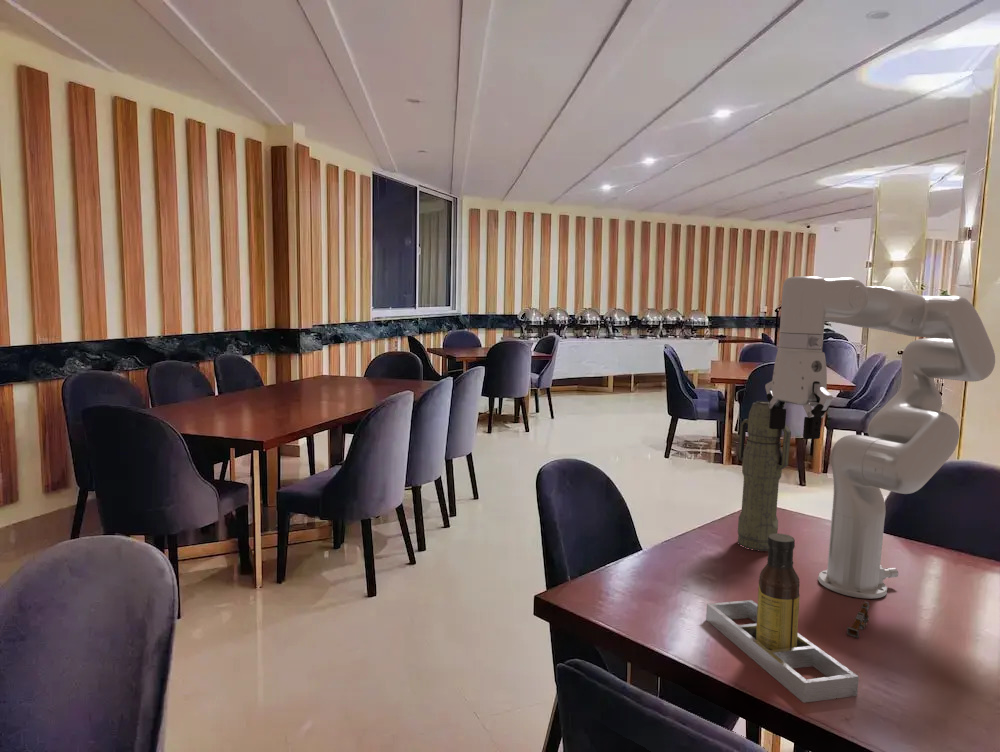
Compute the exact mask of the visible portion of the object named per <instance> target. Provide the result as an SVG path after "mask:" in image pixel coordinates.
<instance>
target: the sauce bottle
mask: <svg viewBox="0 0 1000 752" xmlns="http://www.w3.org/2000/svg"><path fill="white" fill-rule="evenodd" d="M795 541H796V539H795V537H793V536H792V535H789V534H786V533H778V532H777V533H774V534H770V535H769V536H768V541H767V542H768V546H769V548H768V552H767V555H768V556H767V558H766V559H767V562H766V565H765V566H764V567H763V568H762V569H761V571H760V572H759V577H758V586H757V588H758V589H757V604H758V606H757V627H756V640H757V641H759V642H760V643H761V644H762V645H764V646H765V647H766V648H767V649H769V650H776V649H785V648H794V647H797V635H798V633H799V631H798V630H799V612H800V596H801V595H800V582H801V581H800V578H799V575H798V573H797V572H796V570H795V568H794V549H795V548H796V545H795Z"/></svg>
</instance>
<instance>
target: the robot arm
mask: <svg viewBox="0 0 1000 752" xmlns="http://www.w3.org/2000/svg"><path fill="white" fill-rule="evenodd" d="M781 294H782V295H781V306H780V307H781V308H780V320H779V321H780V323H779V335H778V348H777V352H776V356H775V361H774V366H773V373H772V380H770V381H769V382H767V383H766V384H765V387H764V388H765V391H766V400H767V401H769V408H772V409H770V422H769V428H770V429H784V428H785V425H786V419H787V408H785V407H786V405H787V403H788V404H792V405H796V406H797V405H798V406H802V407H803V409H804V412H805V414H806V416H804V419H803V429H802V430H803V432H802V438H803V439H805V440H815V439H816V440H819V439H820V438H821V428H822V419H823V418H825V414H826V412H828V410H829V409H830V408H829V407H830V406H831V403H832V401H833V399H834V397H833V395H832V394H831V393H830V392H829V391H828V390H827V388H828V386H827V385H828V384H827V383H828V380H827V379H828V375H827V374H828V369H827V361H826V360H827V359H826V354H825V352H823V348H824V347H823V346H824V345H823V344H824V332H825V322H830V323H836V324H840V325H841V324H843V325H847V326H852V327H858V328H865V329H872V330H876V331H877V330H878V331H884V332H888V333H889V332H890V333H893V334H898V335H904V336H909V337H916V338H919V339H915V340H912V341H911V342H909V343H908V344H907V345H906V346H905V348H904V350H903V352H902V356H901V385H900V388H899V389H898V391H897V392H896V393H895V395H894V396H892V397H891V398H890V399H889V400H888V401H887V402H886V403H885V404H884V405H883V406H882V407H881V408H880V409H879V411H877V412H876V414H875V415H874V416H873V417H872V418H871V420H870V422H869V423H868V426H867V435H862V434H848V435H845V436H842V437H841V438H839V439H838V440H837V441H836V442H835V443H834V444H833V446H832V449H831V452H830V453H831V455H830V463H831V470H832V471H831V472H832V478H833V494H832V495H833V498H832V509H831V510H832V511H831V522H830V535H829V548H828V556H827V557H828V559H827V560H828V561H827V568H826V569H824V570H822V571H820V572H819V573H818V577H817V579H818V582H819V583H820V584H821V585H822V586H823V587H825V588H826V589H828V590H830V591H832V592H835V593H837V594H840V595H844V596H847V597H851V598H852V597H853V598H859V599H871V600H873V599H874V600H875V599H880V598H884V597H885V596H886V595H887V594H888V587H887V585H886V584H885V583H884V580H886V579H889V578H890V579H891V578H898V576H899V570H898V569H897V568H896V567H888V568H884V567H883V566H882V565H881V562H882V549H883V542H884V541H883V540H884V529H885V528H884V527H885V518H886V502H885V498H884V494H883V493H882V489H883V490H886V491H888V492H893V493H897V494H902V495H903V494H904V495H908V494H913V493H915V492H918V491H919V490H920V489H922V488H923V487H924V486H925V485H926V484H927V483H928V482H929V481H930V479H932V477H933V476H934V475H935V474H936V473H938V472H939V470H940V469H941V467H942V466H943V465H944V464H945V463H947V461H948V460H949V459H950V457H952V455H953V454H954V452H955V450H956V448H957V446H958V444H959V439H960V427H959V424H958V422H957V420H956V419H955V418H954V417H953V416H952V415H950V414H949V413H947V412H944V411H941V409H942V408H943V400H942V396H941V393H940V391H939V390H938V389H939V388H937V385H936V384H935V379H941V380H951V381H960V382H972V383H974V382H980V381H981V382H982V381H983V380H985V379H987V378H988V377H990V375H991V374H992V373H993V371H994V369H995V367H996V366H995V364H996V355H995V354H996V353H995V349H994V347H993V344H992V342H991V339H990V338H989V335H988V332H987V330H986V328H985V324H984V323H983V321H982V319H981V317H980V315H979V313H978V312H977V310H976V308H975V307H974V305H973V304H972V303H971V302H970V300H968V299H967V298H965V297H964V296H960V295H959V296H958V295H922V294H916V293H911V292H908V291H905V290H904V291H903V290H901V289H895V288H892V287H889V286H888V287H887V286H871V285H870V286H869V285H868V286H866V285H865V284H864V283H863V282H862V281H860V280H858V279H857V278H853V277H847V276H841V277H840V276H839V277H820V276H812V275H811V276H807V275H806V276H804V275H803V276H801V275H799V276H798V275H797V276H790V277H787V278H786V279H785V280H784V281H783V285H782V293H781ZM812 407H813V408H812Z"/></svg>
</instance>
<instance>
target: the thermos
mask: <svg viewBox="0 0 1000 752" xmlns="http://www.w3.org/2000/svg"><path fill="white" fill-rule="evenodd" d="M770 409H772V408H769V401H768V400H764V401H763V400H757V401H756V402H752V404H751V407H750V410H749V412H748V418H745V419H743V420H742V421H741V423H740V424H739V436H738V437H739V439H738V449H737V450H738V453H737V454H738V461H740V462H741V464H742V469H741V470H742V472H741V473H742V475H743V485H742V486H743V487H742V500H741V512H740V514H739V516H738V524H737V535H738V536H737V537H738V538H737V544H738V543H739V544H740V545H742V546H744V547H746V548H749V549H753V550H759V551H768V548H769V546H768V542H767V541H768V536H769V535H770V534H774V533H778V529H779V519H778V516H777V511H778V509H777V508H778V498H779V496H778V495H779V485H780V484H779V482H780V479H781V478H782V472H783V470H784V469H785V468H786V467H787V466H789V454H790V447H791V437H792V431H791V428H790V427H789V425H787V424H785V428H784V429H770V428H769V422H770ZM746 426H747V439H745V438H746V437H745V436H746ZM782 432H783V433H782ZM782 434H783V435H782ZM782 436H783V440H782V441H783V442H782V441H781V437H782ZM745 440H746V444H745ZM782 444H783V445H782Z"/></svg>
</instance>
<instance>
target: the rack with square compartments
mask: <svg viewBox="0 0 1000 752" xmlns="http://www.w3.org/2000/svg"><path fill="white" fill-rule="evenodd" d="M757 606H758V602H755V601H754V600H752V599H749V600H748V599H747V600H736V601H726V602H725V601H723V602H715V603H714V602H713V603H711V602H710V603H707V604H706V614H705V620H706V621H707V622H708V623H709V624H710V625H712V626H713V627H714V628H715V629H716V630H717V631H719V632H720V633H721V635H723V636H725V637H726V638H727V639H728V640H729V641H730V642H731V643H733V644H734V645H735V646H736V647H737V648H738V649H740V650H741V651H742V652H743V653H744V654H746V656H748V657H749V658H750V659H752V661H754V662H755V663H756V664H757V665H758V666H760V668H762V669H763V670H764V671H765V672H767V674H769V675H770V676H771V677H773V678H774V679H775V680H776V681H777V682H778V683H780V684H781V685H782V686H783V687H784V688H785V689H787V690H788V691H789V692H790V693H791V694H792V695H794V696H795V697H796V698H797V699H798V700H799V701H800V702H802V703H803V704H805V703H813V702H820V701H829V700H835V699H836V698H837V699H844V698H850V697H858V690H859V689H858V688H859V681H860V676H859V675H858V674H856V673H855V672H854V671H852V670H850V669H849V668H848V667H846V666H845V665H844V664H842V663H841V662H839V661H838V660H837V659H835V658H834V657H832V656H831V655H829V654H828V653H826V652H825V651H824V650H822V649H821V648H820V647H818V646H817V645H816V644H814V643H813V642H811V641H810V640H808V639H807V638H806V637H805V636H803V635H801V633H799V632H798V635H797V647H794V648H785V649H776V650H769V649H767V648H766V647H765V646H764V645H762V644H761V643H760V642H759V641H757V640H756V627H757ZM739 619H740V620H741V619H750V620H751V621H753V622H754V623H747V624H738V623H736V622H735V621H734V620H739ZM809 667H814V668H815V669H816V670H817V671H819V672H820V673H821V674H822V675H823V677H817V678H816V677H815V678H807V679H806V678H805V677H804V676H802V675H801V674H800V673H799V672H797V671H796V670H795V669H800V668H809Z"/></svg>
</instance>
